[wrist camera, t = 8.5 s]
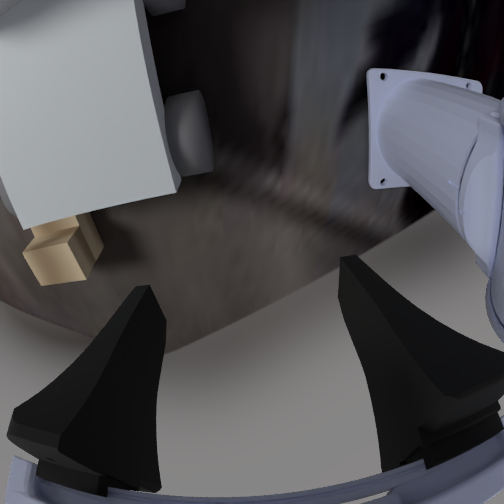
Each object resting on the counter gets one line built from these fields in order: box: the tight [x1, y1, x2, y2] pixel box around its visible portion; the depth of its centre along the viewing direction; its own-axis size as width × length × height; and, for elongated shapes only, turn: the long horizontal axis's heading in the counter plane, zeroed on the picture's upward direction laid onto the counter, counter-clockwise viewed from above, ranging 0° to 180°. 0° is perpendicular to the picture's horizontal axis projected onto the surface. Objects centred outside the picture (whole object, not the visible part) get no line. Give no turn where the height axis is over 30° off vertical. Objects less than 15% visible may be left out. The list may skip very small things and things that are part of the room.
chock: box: [23, 212, 104, 286], centre depth 18 cm, size 4×5×4 cm
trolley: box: [0, 0, 214, 230], centre depth 10 cm, size 13×13×10 cm
